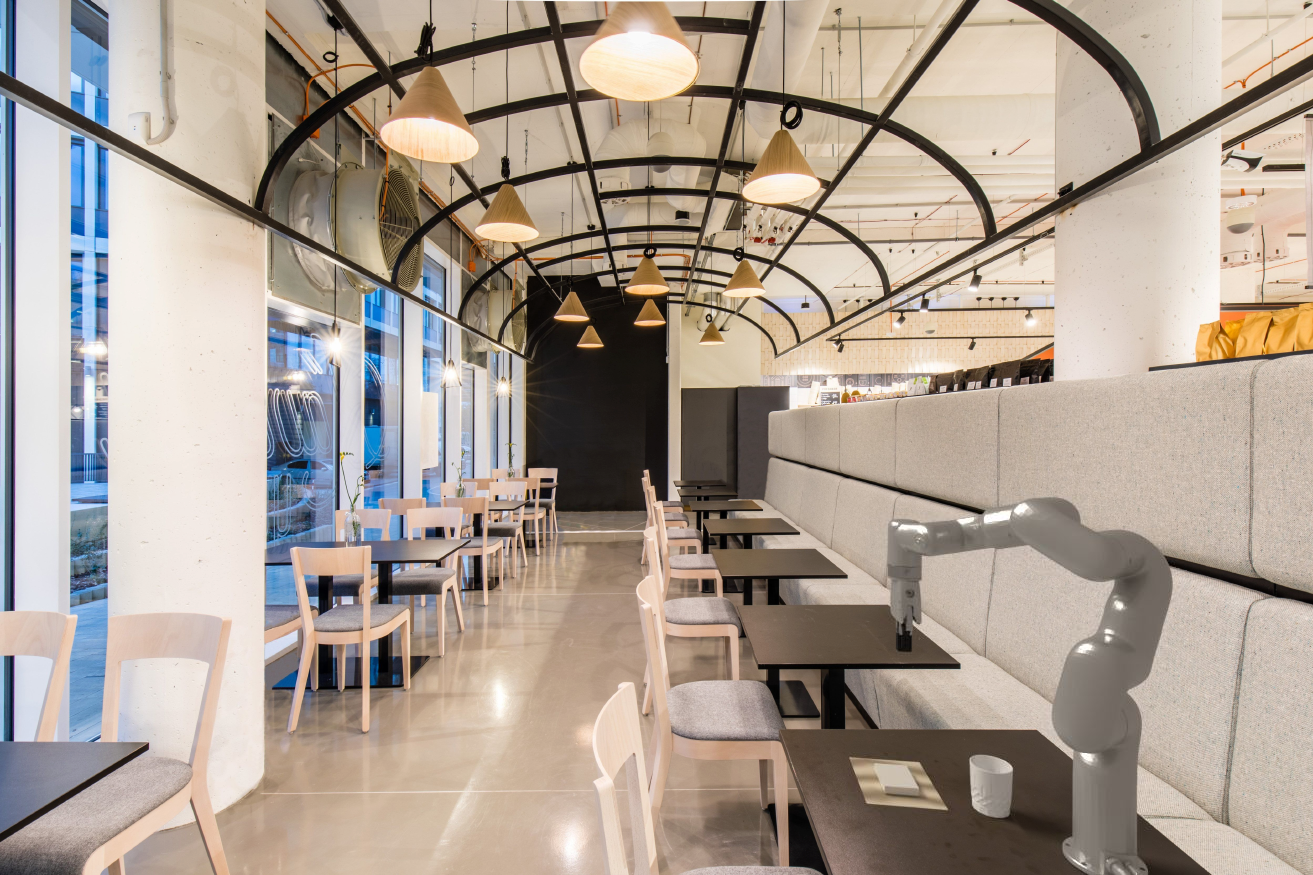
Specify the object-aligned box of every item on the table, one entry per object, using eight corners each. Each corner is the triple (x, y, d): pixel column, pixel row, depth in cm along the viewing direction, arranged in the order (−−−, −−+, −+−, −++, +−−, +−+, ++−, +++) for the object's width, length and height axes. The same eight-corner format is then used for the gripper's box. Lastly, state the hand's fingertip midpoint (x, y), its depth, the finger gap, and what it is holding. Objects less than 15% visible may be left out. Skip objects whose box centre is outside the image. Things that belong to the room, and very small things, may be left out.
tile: (906, 773, 144) (919, 797, 134) (874, 770, 145) (884, 794, 135) (906, 765, 144) (919, 788, 134) (874, 762, 145) (884, 785, 135)
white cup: (1018, 826, 126) (1018, 775, 126) (975, 821, 127) (975, 770, 127) (1005, 805, 133) (1005, 756, 134) (964, 800, 135) (965, 752, 135)
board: (947, 814, 129) (948, 809, 129) (866, 808, 131) (866, 803, 131) (919, 766, 149) (919, 762, 149) (849, 761, 151) (849, 757, 151)
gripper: (930, 579, 142) (930, 662, 141) (912, 567, 157) (911, 642, 156) (896, 577, 143) (895, 660, 142) (880, 565, 158) (879, 640, 157)
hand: (903, 650), depth 149 cm, fingers closed
